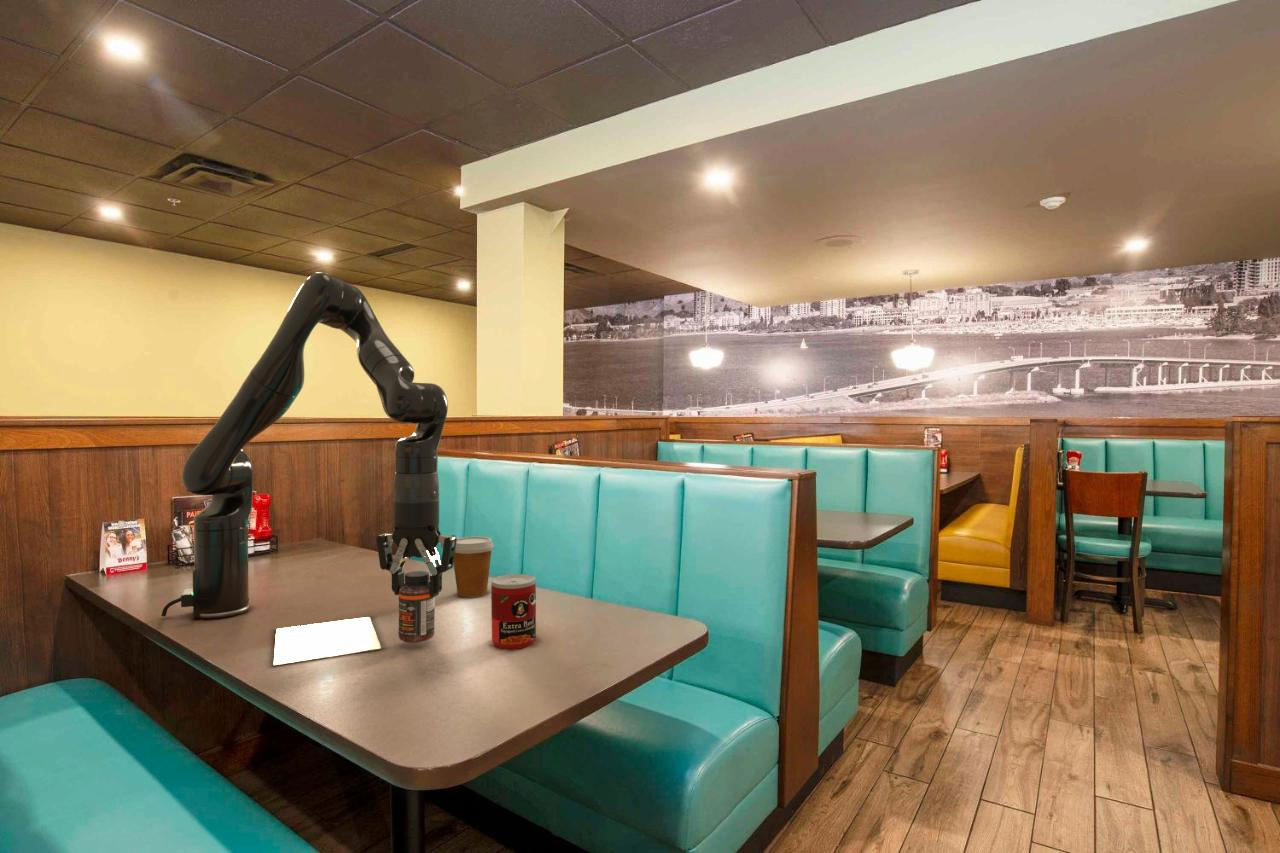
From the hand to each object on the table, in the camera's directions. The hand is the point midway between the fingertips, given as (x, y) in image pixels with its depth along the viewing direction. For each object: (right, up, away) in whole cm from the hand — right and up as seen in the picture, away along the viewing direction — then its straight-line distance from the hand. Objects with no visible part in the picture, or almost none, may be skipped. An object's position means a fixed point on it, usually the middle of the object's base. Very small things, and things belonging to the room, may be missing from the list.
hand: (416, 594), depth 115 cm
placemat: (-17, -9, +3) cm, 19 cm away
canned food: (+17, -9, +1) cm, 19 cm away
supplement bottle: (0, -8, 0) cm, 8 cm away
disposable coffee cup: (+1, -8, +32) cm, 34 cm away
